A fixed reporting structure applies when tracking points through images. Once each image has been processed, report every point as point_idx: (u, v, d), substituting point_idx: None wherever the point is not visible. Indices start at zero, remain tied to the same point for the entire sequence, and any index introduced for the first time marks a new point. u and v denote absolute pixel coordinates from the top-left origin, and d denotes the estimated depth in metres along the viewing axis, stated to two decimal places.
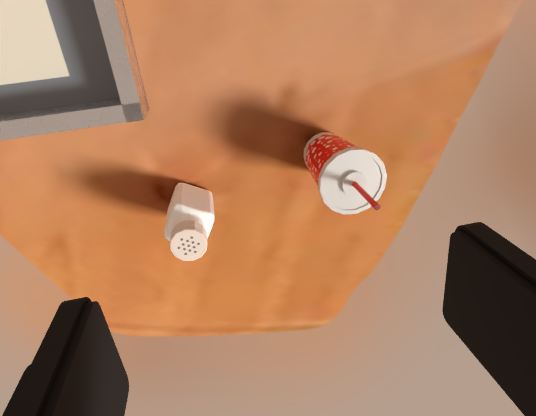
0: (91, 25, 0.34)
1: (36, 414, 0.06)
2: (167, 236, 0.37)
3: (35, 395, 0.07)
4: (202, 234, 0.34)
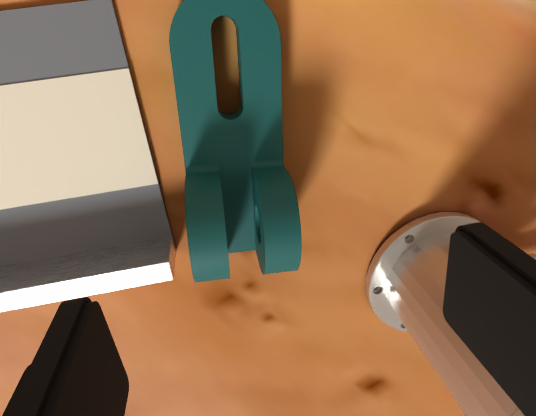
0: None
1: (36, 414, 0.06)
2: None
3: (35, 395, 0.07)
4: None
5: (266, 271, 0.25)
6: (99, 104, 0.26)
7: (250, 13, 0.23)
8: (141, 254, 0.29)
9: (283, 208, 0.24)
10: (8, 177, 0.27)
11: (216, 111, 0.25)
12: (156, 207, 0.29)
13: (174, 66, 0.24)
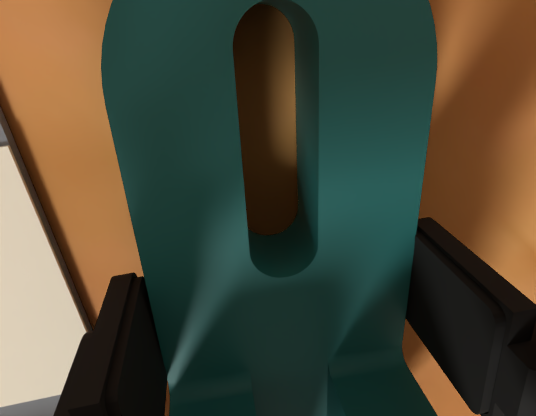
0: None
1: (108, 368, 0.07)
2: None
3: (104, 353, 0.07)
4: None
5: None
6: None
7: None
8: None
9: None
10: None
11: (246, 261, 0.09)
12: None
13: (124, 157, 0.08)
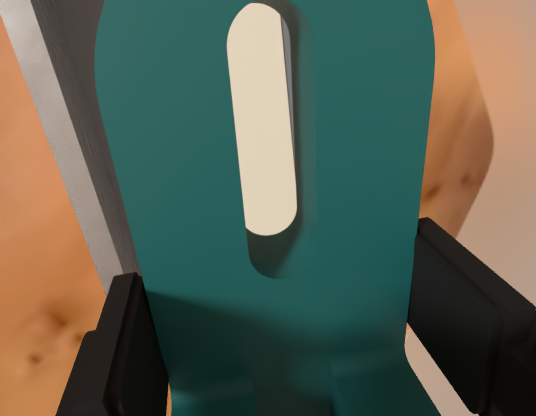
0: None
1: (110, 366, 0.07)
2: None
3: (106, 351, 0.07)
4: None
5: None
6: (273, 220, 0.30)
7: None
8: (129, 262, 0.27)
9: None
10: None
11: (246, 263, 0.09)
12: None
13: (119, 161, 0.08)
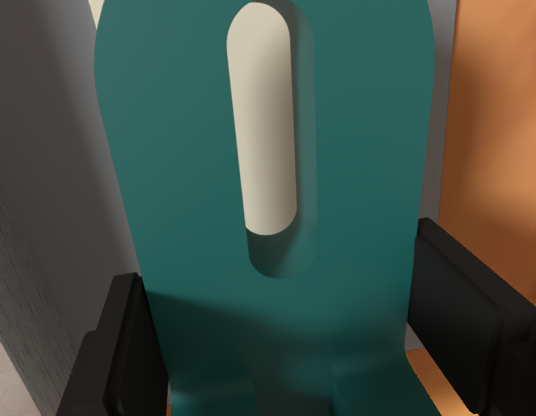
0: (15, 91, 0.12)
1: (111, 366, 0.07)
2: None
3: (106, 352, 0.07)
4: None
5: None
6: None
7: None
8: None
9: None
10: None
11: (246, 263, 0.09)
12: None
13: (119, 160, 0.08)
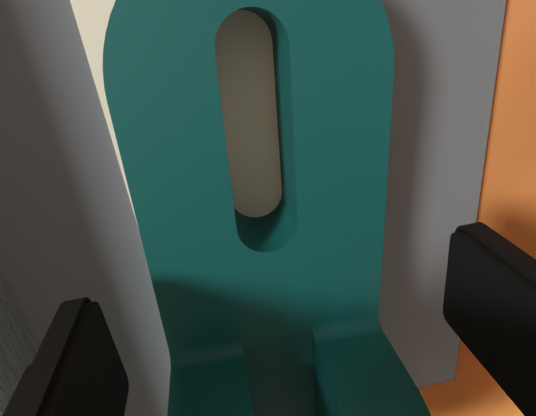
0: None
1: (36, 414, 0.06)
2: None
3: (35, 395, 0.07)
4: None
5: None
6: None
7: None
8: None
9: None
10: None
11: (234, 238, 0.11)
12: None
13: (124, 146, 0.09)
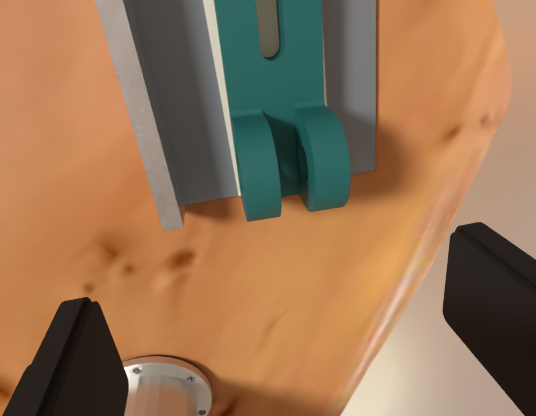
0: None
1: (36, 414, 0.06)
2: None
3: (35, 395, 0.07)
4: None
5: (315, 206, 0.26)
6: None
7: None
8: (178, 192, 0.30)
9: (331, 141, 0.24)
10: None
11: (259, 52, 0.26)
12: (215, 193, 0.33)
13: (218, 8, 0.24)
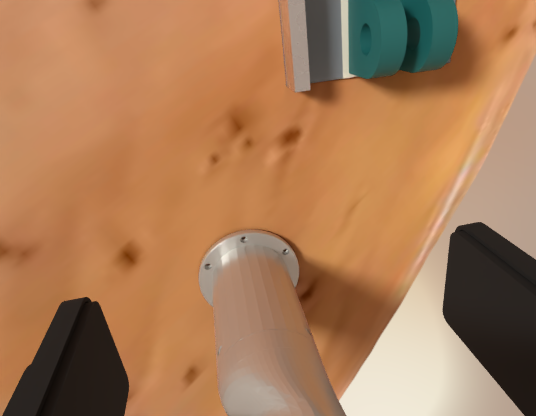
0: None
1: (36, 414, 0.06)
2: None
3: (35, 395, 0.07)
4: None
5: (427, 60, 0.34)
6: None
7: None
8: None
9: (444, 3, 0.33)
10: None
11: None
12: (325, 75, 0.41)
13: None
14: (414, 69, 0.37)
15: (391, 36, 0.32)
